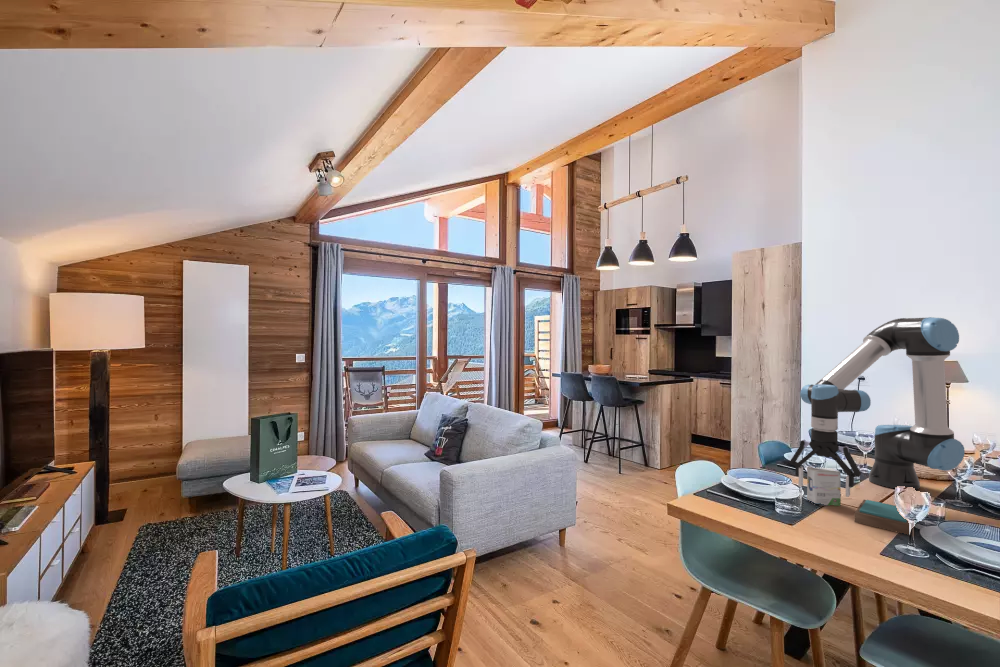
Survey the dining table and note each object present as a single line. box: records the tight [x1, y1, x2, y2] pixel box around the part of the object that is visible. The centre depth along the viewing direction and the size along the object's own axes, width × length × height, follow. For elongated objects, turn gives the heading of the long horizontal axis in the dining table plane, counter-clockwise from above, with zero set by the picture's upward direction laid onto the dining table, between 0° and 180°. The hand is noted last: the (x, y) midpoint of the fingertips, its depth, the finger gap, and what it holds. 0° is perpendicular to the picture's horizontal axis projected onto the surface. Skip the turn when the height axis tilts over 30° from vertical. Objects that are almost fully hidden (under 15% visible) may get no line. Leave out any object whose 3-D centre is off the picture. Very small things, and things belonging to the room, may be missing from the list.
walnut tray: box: [854, 499, 909, 536], centre depth 145 cm, size 16×13×4 cm
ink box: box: [806, 466, 842, 507], centre depth 160 cm, size 9×5×12 cm, turn 84°
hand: (823, 490), depth 160 cm, fingers open, 13 cm apart
